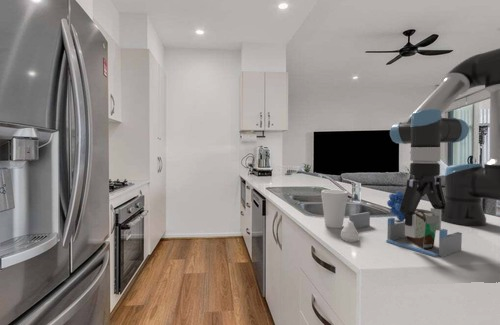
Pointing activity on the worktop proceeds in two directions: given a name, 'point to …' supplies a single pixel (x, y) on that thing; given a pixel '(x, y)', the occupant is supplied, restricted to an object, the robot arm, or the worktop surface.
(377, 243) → the worktop surface
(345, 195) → the foam cup
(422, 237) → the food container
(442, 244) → the blue-edged channel bracket
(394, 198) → the grapes
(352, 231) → the garlic bulb
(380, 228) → the worktop surface
